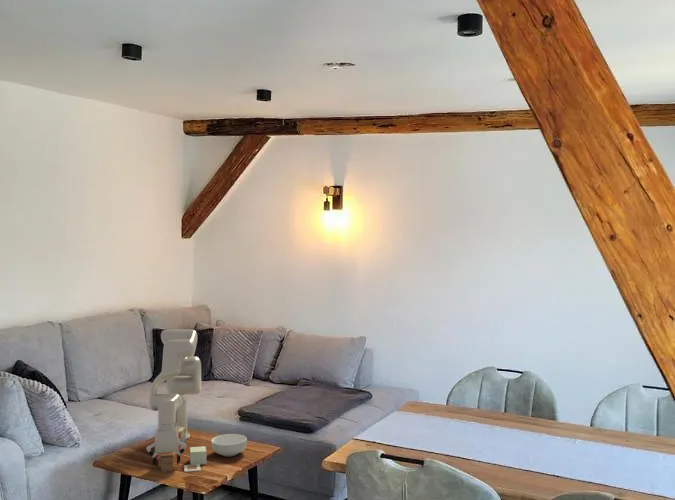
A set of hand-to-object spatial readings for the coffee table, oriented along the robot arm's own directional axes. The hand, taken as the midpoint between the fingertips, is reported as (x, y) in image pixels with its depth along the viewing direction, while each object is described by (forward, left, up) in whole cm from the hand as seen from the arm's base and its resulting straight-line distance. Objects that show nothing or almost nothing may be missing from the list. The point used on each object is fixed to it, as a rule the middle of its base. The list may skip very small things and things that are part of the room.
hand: (166, 464), depth 292 cm
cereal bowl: (-14, +29, -2) cm, 32 cm away
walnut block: (0, 0, -2) cm, 2 cm away
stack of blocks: (-23, +2, -3) cm, 23 cm away
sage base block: (-6, +14, -2) cm, 16 cm away
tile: (+2, +11, -2) cm, 11 cm away
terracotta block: (-7, -1, -2) cm, 8 cm away
